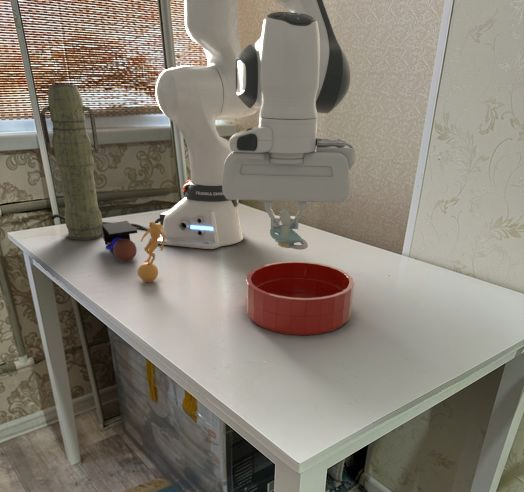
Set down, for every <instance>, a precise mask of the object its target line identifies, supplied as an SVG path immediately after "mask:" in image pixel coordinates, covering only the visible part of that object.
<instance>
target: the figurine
mask: <svg viewBox="0 0 524 492" xmlns="http://www.w3.org/2000/svg"><path fill="white" fill-rule="evenodd" d="M148 234H149V235H150V239H149V240H148V242H147V244H146V245H145V246H144V247H143V248H144V252H146V254H148V258H147V259H146V260H145V261H143V263H142V264H141V265H139V267H138V269H137V275H138V277H139V278H140V280H142V281H143V282H145V283H152V282H153V281H155V280H156V279H157V277H158V275H159V269H158V267H157V266H156V264H154V261H155V259H156V254H155V253H154V251H155V250H156V249H157V248H158V246H159V244H158V242H157V241H158V239H159V237H160V235H162V236H163V237H162V244H161V245H160V247H159V251H160V252H161V253H163V252H164V246H165V245H164V241H165V234H164V233H163V226H162V225H161V224H160V223H158V224H157V223H155V221H149V225H148V230H146V232H145V233H144V234H143V236H142V237H141V240H140V243H142V242H143V241H144V239H145V238H146V237H147V235H148Z"/></svg>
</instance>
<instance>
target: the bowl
mask: <svg viewBox="0 0 524 492" xmlns="http://www.w3.org/2000/svg"><path fill="white" fill-rule="evenodd" d="M354 287H355V282H354V278H353V277H352V275H350V274H349V273H348V272H346V271H345V270H343V269H340V268H338V267H335V266H332V265H330V264H329V265H328V264H324V263H319V262H311V261H297V260H296V261H295V260H294V261H291V260H290V261H278V262H272V263H271V262H270V263H267V264H263V265H259V266H258V267H256V268H254V269H252V270H251V271H249V272H248V273H247V274H246V278H245V312H246V314H247V317H249V318H250V319H251V320H252V321H253V322H254V323H255V324H256V325H258V326H259V327H261V328H263V329H265V330H267V331H268V330H269V331H271V332H275V333H279V334H284V335H292V336H313V335H320V334H325V333H330V332H333V331H336V330H337V329H339V328H341V327H342V326H344V324H345V323H347V322H348V321H349V320H350V318H351V315H352V309H353V307H352V306H353V298H354V289H355V288H354Z"/></svg>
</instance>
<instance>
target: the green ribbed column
mask: <svg viewBox="0 0 524 492" xmlns="http://www.w3.org/2000/svg"><path fill="white" fill-rule="evenodd" d="M47 103H48V105H47V106H46V107H43V108H42V110H41V112H40V113H39V116H40V122H41V126H42V130H43V135H44V140H45V145H46V147H45V148H46V152H47V153H48V154H50V155H51V156H53V157H54V161H55V166H56V168H58V172H59V177H60V184H61V190H62V195H63V202H64V206H65V207H64V215H63V216H64V217H65V220H64V222H65V226H66V228H67V233H68V238H69V239H71V240H75V241H88V240H94V239H99V238H101V237H103V236H102V232H101V227H102V224H103V223H102V222H103V217H102V212H101V210H100V208H99V204H98V197H97V189H96V183H95V175H94V165H95V161H94V155H95V154H99V142H98V135H97V127H96V119H95V113H94V111H93V110H92V109H91V108H90V106H85V105H84V101H83V97H82V95H81V92H80V91H79V87H78V86H77V85H75V84H74V83H51V85H49V86H48V92H47ZM47 111H48V112H49V115H50V121H51V122H52V123H51V124H52V133H53V134H52V140H51V141H50V136H49V130H48V124H47V118H46V113H47ZM87 111H88V113H89V117H90V126H91V132H92V140H93V145H92V141H91V137H90V136H89V134H88V130H87V127H86V122H85V121H86V114H85V112H87ZM51 143H52V147H51Z"/></svg>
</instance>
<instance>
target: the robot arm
mask: <svg viewBox="0 0 524 492" xmlns="http://www.w3.org/2000/svg"><path fill="white" fill-rule="evenodd" d="M272 1H273V2H274V3H277V4H278V5H280V6H282V7H283V8H285V9H286V10H287V11H275V12H274V11H273V12H270V13H269V14H267V15H265V17H264V18H263V22H262V27H261V28H262V29H261V34H260V36H259V37H258V38H257V40H256V41H255V42H254V43H252V44H250V43H249V44H248V45H247V46H245V47H244V48H243V50H242V46H241V41H240V36H239V35H240V34H239V0H184V26H185V30H186V33H187V35H188V36H189V38H190V39H191V40H192V41H193V42H194V43H195V44H197V45H198V46H200V47H201V48H202V49H203V51H204V53H205V56H206V59H207V60H206V61H207V65H179V66H175V67H170V68H168V69H164V70H163V71H162V72H161V73H160V74H159V77H158V78H157V81H156V84H155V99H156V102H157V105H158V107H159V109H160V110H161V112H162V113H163V114H164V116H165V117H166V118H168V120H170V121H172V122H173V124H174V125H175V126H176V127H177V129H178V130H179V131H180V133H181V135H182V137H183V139H184V141H185V145H186V147H187V153H188V158H189V169H190V179H188V180H186V181H185V182H184V183H183V187H182V193H183V198H182V199H181V200H179V201H178V202H177V203H175V205H173V206H172V207H171V208H170V209H167V210H166V211H164V212H161V213H159V217H158V218H156V219H155V221H154V223H157V224H161V225H162V227H163V233H164V234H165V241H164V245H163V246H173V247H174V246H175V247H184V248H193V249H203V250H215V249H218V248H221V247H224V246H231V245H235V244H237V243H240V242H242V241H243V239H244V236H243V233H242V228H241V224H240V217H239V211H238V205H239V203H240V202H239V201H261V202H262V201H264V204H263V205H264V206H263V208H264V210H265V211H266V213H267V215H268V217H269V219H270V229H271V228H280V225H281V221H280V215H276V214H275V212H274V210H273V207H274V203H275V202H293V203H295V202H297V207H296V208H297V209H298V210H297V212H296V213H295V215H290V217H291V227H290V229H292V230H299V220H300V219H301V217H302V215H303V214H304V213H305V211H306V210H307V203H331V204H332V203H334V204H343V203H345V202H346V201H348V199H349V197H350V191H351V189H350V185H351V184H350V183H351V182H350V181H351V180H350V170H351V169H352V168H353V166H354V162H355V156H356V155H355V154H356V152H355V151H356V150H355V147H354V146H353V145H352V144H351V143H349V142H347V141H346V139H341V138H340V139H328V138H317V132H318V115H319V114H330V112H332V111H333V110H334V109H335V108H337V107H338V106H339V105H340V104H341V103H342V101H343V100H344V99H345V97H346V96H347V94H348V92H349V89H350V84H351V68H350V63H349V61H348V58H347V56H346V53H345V52H344V50H343V48H342V46H341V44H340V43H339V41H338V40H337V37H336V34H335V32H334V29H333V26H332V24H331V21H330V18H329V14H328V12H327V9H326V6H325V4H324V1H323V0H272ZM258 111H259V114H258V124H257V126H254V127H252V126H251V127H248V128H247V129H244V130H241V131H238V132H236V133H233V135H231V136H230V138H229V140H228V139H226V138H224V137H222V136H220V133H219V131H218V129H217V126H216V121H220V120H221V121H222V120H223V121H224V120H239V119H243V118H245V117H249V116H251V115H254V114H256V112H258ZM318 113H319V114H318ZM56 218H59V219H61V220H62V221H63V220H64V221H65V215H61V214H58V213H55V214H53V215H52V216H51V217H50V220H55V219H56ZM102 223H103V224H107V223H114V222H113V221H111V222H110V221H102ZM129 223H130V224H131V225H132V226H133V227H134V228H136V229H137V228H138V229H140V230H143V231H147V230H148V229H149V227H148V228H147V227H146V226H144V225H141V224H138V223H132V222H129ZM162 237H163V236H162V235H160V237H159V239H158V241H157V242H158V245H162Z"/></svg>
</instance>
